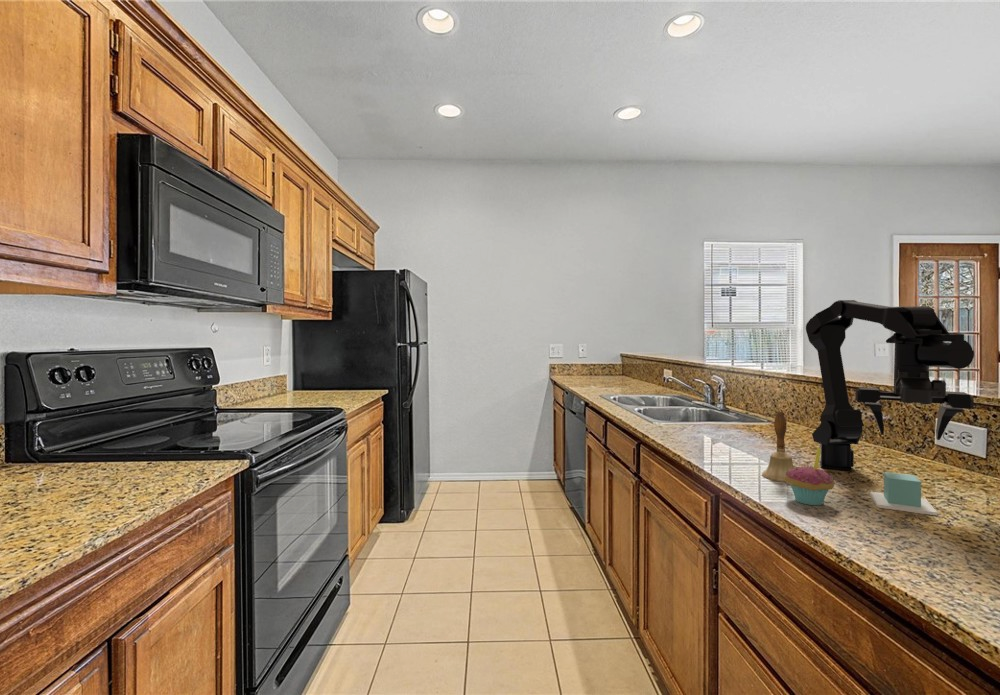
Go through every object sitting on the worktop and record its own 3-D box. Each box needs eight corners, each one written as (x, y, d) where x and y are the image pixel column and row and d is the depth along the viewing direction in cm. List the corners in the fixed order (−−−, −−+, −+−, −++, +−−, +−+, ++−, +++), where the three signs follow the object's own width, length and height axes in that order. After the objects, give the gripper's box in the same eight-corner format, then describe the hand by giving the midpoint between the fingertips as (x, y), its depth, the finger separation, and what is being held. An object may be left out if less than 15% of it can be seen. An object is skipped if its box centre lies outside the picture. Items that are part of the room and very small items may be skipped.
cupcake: (826, 497, 101) (826, 440, 101) (840, 511, 93) (840, 449, 93) (780, 493, 104) (780, 438, 104) (790, 506, 96) (790, 446, 96)
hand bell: (764, 480, 113) (764, 413, 113) (759, 471, 121) (759, 408, 121) (804, 484, 110) (805, 415, 110) (797, 474, 118) (797, 410, 117)
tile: (877, 507, 95) (877, 504, 95) (870, 494, 102) (870, 491, 102) (937, 515, 90) (937, 512, 90) (925, 501, 98) (925, 498, 98)
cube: (888, 503, 95) (888, 478, 95) (883, 495, 100) (883, 472, 99) (921, 507, 93) (921, 481, 93) (914, 499, 97) (915, 475, 97)
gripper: (860, 366, 100) (858, 439, 101) (983, 369, 90) (980, 451, 91) (855, 362, 110) (854, 429, 110) (966, 365, 100) (964, 439, 100)
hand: (909, 437), depth 103 cm, fingers open, 9 cm apart
